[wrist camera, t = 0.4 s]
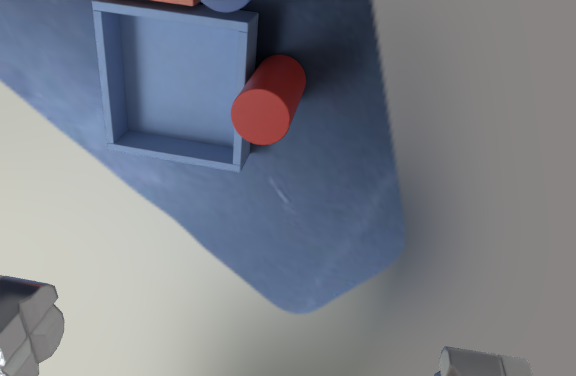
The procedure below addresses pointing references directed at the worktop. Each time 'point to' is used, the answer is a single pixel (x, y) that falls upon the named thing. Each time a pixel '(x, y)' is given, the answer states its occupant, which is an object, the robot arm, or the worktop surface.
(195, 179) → the worktop surface
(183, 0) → the red bin
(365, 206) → the worktop surface
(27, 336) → the robot arm
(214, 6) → the blue peg
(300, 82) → the red peg
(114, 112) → the blue bin
